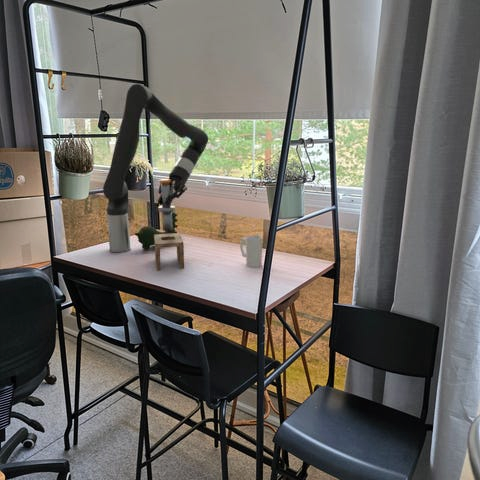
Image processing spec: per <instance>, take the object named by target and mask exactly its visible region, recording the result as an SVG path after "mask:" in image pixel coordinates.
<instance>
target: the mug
mask: <svg viewBox="0 0 480 480" xmlns="http://www.w3.org/2000/svg"><path fill="white" fill-rule="evenodd" d="M244 243H245V249H244ZM239 245H240V252H241V255H242V257H243V258H246V259H245V262H246V266H247V267H249V268H258V267H261V266H262V262H263V261H262V260H263V259H262V258H263V255H262V254H263V236H262V235H258V234H250V235H249V234H248V235H247V236H245V237H242V239H241V241H240V243H239Z"/></svg>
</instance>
